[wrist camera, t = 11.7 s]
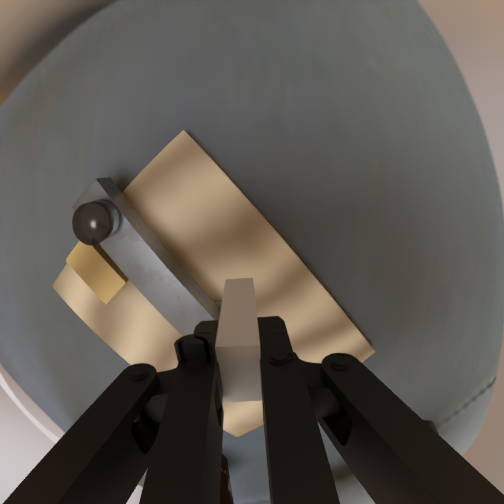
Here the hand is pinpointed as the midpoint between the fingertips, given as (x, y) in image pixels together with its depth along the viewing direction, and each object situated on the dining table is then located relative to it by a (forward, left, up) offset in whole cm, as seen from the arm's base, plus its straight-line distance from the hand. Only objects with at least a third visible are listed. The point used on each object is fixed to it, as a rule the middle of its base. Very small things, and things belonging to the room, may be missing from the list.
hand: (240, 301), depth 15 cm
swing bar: (+5, +5, -6) cm, 9 cm away
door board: (-3, +5, -9) cm, 11 cm away
